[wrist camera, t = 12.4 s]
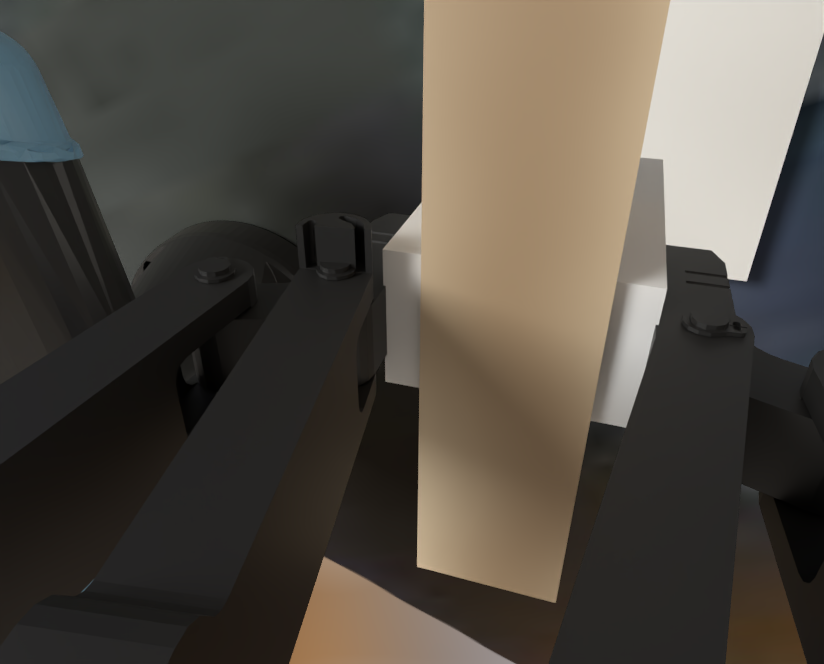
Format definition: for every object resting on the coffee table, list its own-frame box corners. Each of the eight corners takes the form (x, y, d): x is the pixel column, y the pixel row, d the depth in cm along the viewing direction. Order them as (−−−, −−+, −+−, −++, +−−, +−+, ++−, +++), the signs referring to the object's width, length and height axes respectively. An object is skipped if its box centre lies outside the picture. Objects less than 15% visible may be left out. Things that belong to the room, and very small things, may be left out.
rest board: (428, 230, 36) (423, 237, 35) (438, -286, 25) (430, -293, 24) (744, 272, 32) (746, 281, 31) (926, -324, 21) (937, -334, 20)
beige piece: (318, 353, 21) (197, 509, 16) (255, -375, 13) (-72, -619, 7) (790, 441, 18) (853, 680, 12) (1167, -486, 9) (2027, -1167, 3)
